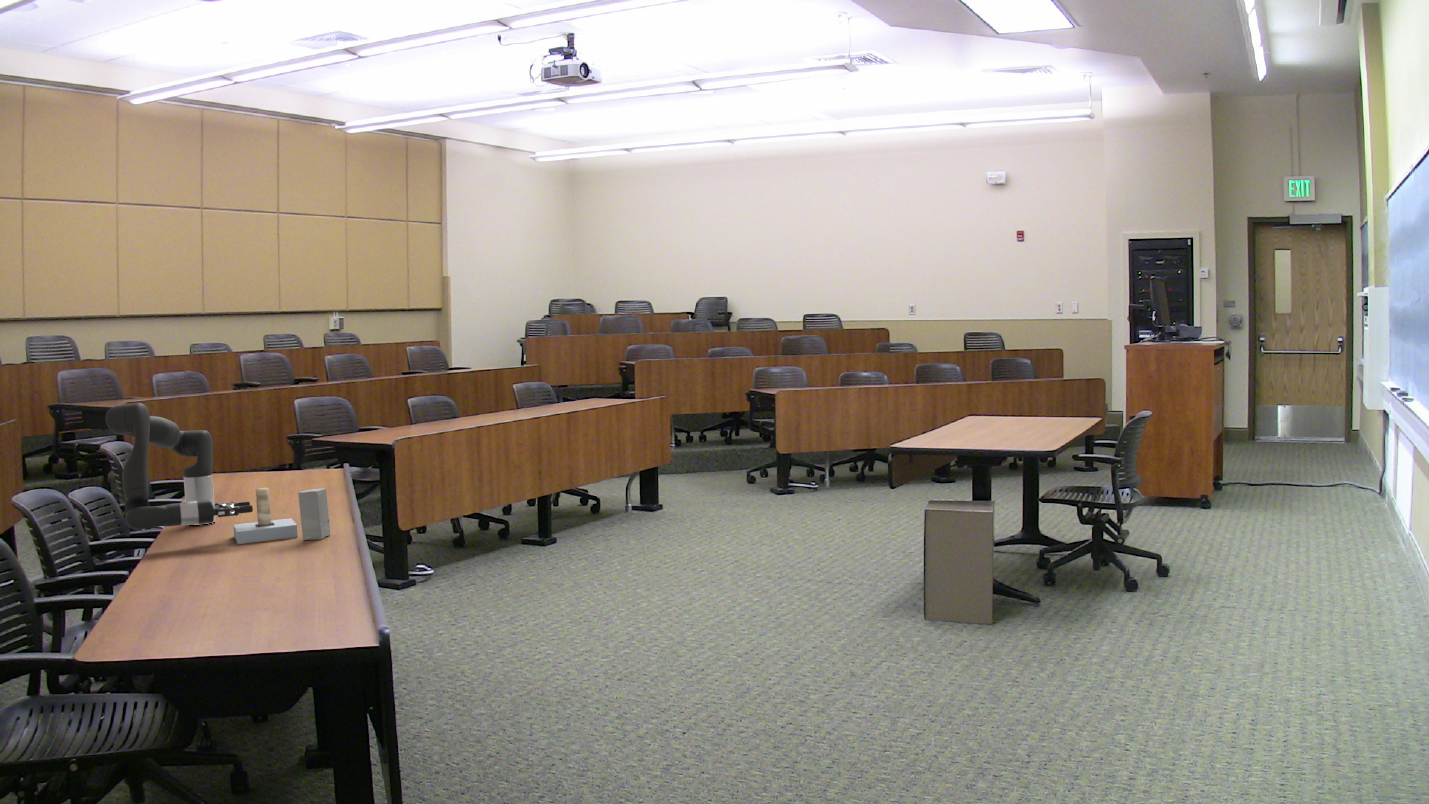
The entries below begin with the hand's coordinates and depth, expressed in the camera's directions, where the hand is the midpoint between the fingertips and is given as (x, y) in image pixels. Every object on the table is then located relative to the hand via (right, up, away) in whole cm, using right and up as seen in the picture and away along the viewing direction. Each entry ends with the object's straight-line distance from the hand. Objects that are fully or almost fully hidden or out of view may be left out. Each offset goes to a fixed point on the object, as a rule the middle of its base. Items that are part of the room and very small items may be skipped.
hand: (251, 506), depth 352 cm
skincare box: (+22, -10, -1) cm, 24 cm away
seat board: (+4, -10, +3) cm, 11 cm away
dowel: (+4, -10, +3) cm, 11 cm away
